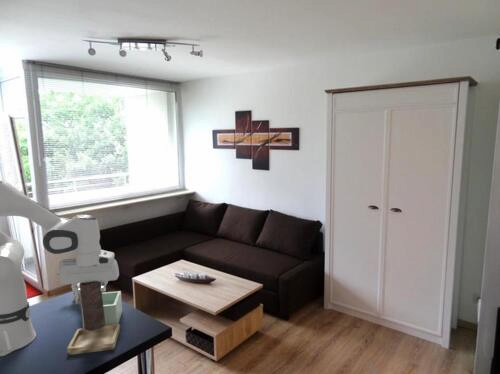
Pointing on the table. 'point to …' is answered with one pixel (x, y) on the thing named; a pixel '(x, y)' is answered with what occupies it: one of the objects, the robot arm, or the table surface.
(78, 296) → the unicorn figurine
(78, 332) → the tray
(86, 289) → the wooden log
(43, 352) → the table surface
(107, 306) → the mint green open box
